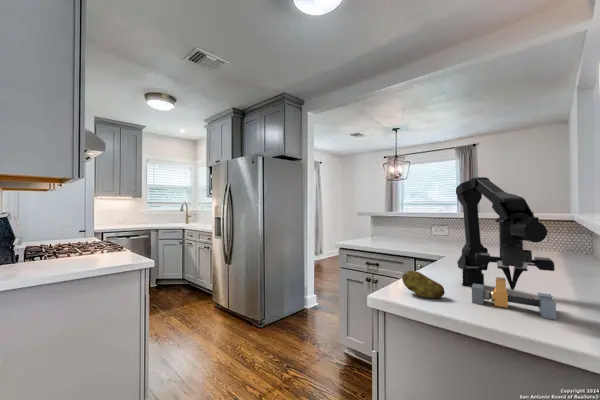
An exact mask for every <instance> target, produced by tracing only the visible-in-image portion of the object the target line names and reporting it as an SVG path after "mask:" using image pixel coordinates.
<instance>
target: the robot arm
mask: <svg viewBox="0 0 600 400" xmlns="http://www.w3.org/2000/svg"><path fill="white" fill-rule="evenodd" d="M455 193H456V197H457V201H458V202H459V203H460V205H462V207H463V208H462V210H463V211H462V212H463V222H464V233H465V236H464V237H465V244H464V246H463V247H462V249H461V256H460V257H459V259H458V260H457V262H456V263H457V268H458V269H460V270H462V283H461V286H465V287H471V288H472V285H473V284H481V285H484V286H485V274H484V273H483V271H488V266H489V264H490V263H496V265H497V269H500V270H502V271H503V274H504V276H506V277H505V278H506V279H507V282H508V285H509V287H510V290H515V287H516V285H517V282H518V280H519V278H520V276H521V275H522V273H523V272H528V270H529V269H528V266H530V267H536V268H537V269H538V270H540V271H548V272H549V271H551V272H555V262H554V261H553V260H552V259H551V258H550V257H542V256H541V257H540V256H534V257H533V255H532V254H533V252H532V250H531V249H524V242H531V243H540V242H543V241H544V240H545V239H546V238H547V235H548V229H547V228H546V226H545V225H544V224H543V223H542V222H540V220H539V217H537V216H535V215H534V214H535V213H534V212H533V211H532V210H531V208H530V206H529V205H528V202H527V200H526V199H525V198H524V197H522V196H519V195H517V194H514V193H509V192H506V191H504V190H503V189H502V188H501V187H499V186H497V185H496V184H495V183H493V182H492V181H491V180H490V178H489V177H486V176H478V177H476V176H475V177H473V178H471V179H469V180H467V181H464V182H462V183H460V184H459V185H457V187H456V188H455ZM482 196H484V197H485V198H486V199H487V200H488V201H489V202H491V203H492V205H491V208H492V209H493V211H494V213H496V215H498V216H499V217H497V218H496V219H495V223H498V233H499V234H498V235H499V237H498V238H499V239H498V240H499V256H493V255H491V253H488V252H489V250H488V247H485V246H484V245H483V244H482V241H481V240H482V239H481V232H480V231H481V229H480V221H479V207H478V205H479V204H480V202H481V200H482V199H483V197H482ZM510 267H513V272H512V274H511V269H510Z"/></svg>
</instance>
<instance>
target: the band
mask: <svg viewBox="0 0 600 400" xmlns="http://www.w3.org/2000/svg"><path fill="white" fill-rule="evenodd" d="M490 300H491V302H493V303H495V294H494V290H491V299H490Z"/></svg>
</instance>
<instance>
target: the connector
mask: <svg viewBox="0 0 600 400" xmlns="http://www.w3.org/2000/svg"><path fill="white" fill-rule="evenodd" d="M489 292H490V290H485V284H484V285H481V284H473V285H472V287H471V303H472V304H475V305H476V304H477V305H481V306H482V305H483V306H484V303H485V300H486V301H490V299H489Z"/></svg>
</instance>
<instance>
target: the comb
mask: <svg viewBox="0 0 600 400" xmlns="http://www.w3.org/2000/svg"><path fill="white" fill-rule="evenodd" d="M537 299H538V300H540V307H537V309H538V311H539V314H540V317H541V318H545V319H548V320H549V319H550V320H555V321H557V305H556V304H557V303H556V301H555V299H553V296H552V294H551V293H544V292H540V291H539V292H537Z"/></svg>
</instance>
